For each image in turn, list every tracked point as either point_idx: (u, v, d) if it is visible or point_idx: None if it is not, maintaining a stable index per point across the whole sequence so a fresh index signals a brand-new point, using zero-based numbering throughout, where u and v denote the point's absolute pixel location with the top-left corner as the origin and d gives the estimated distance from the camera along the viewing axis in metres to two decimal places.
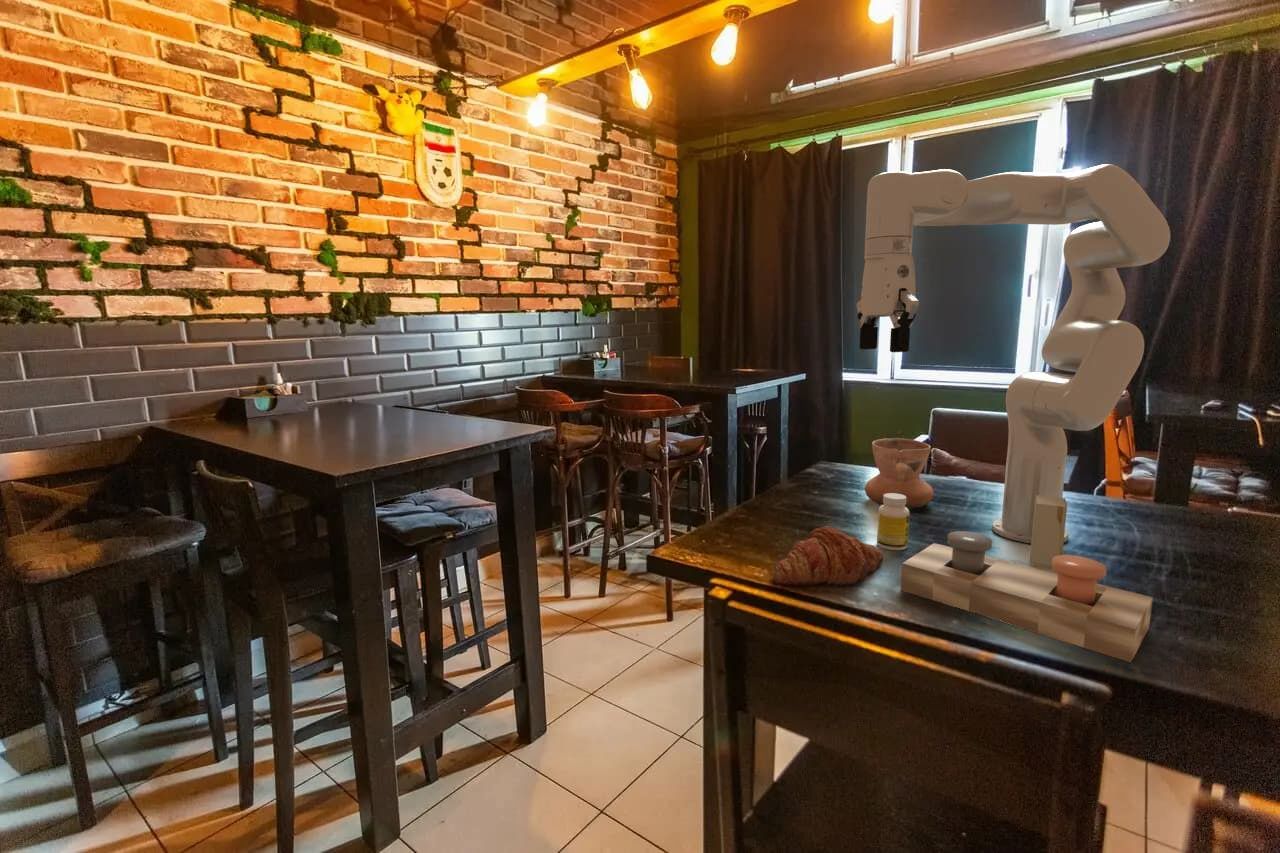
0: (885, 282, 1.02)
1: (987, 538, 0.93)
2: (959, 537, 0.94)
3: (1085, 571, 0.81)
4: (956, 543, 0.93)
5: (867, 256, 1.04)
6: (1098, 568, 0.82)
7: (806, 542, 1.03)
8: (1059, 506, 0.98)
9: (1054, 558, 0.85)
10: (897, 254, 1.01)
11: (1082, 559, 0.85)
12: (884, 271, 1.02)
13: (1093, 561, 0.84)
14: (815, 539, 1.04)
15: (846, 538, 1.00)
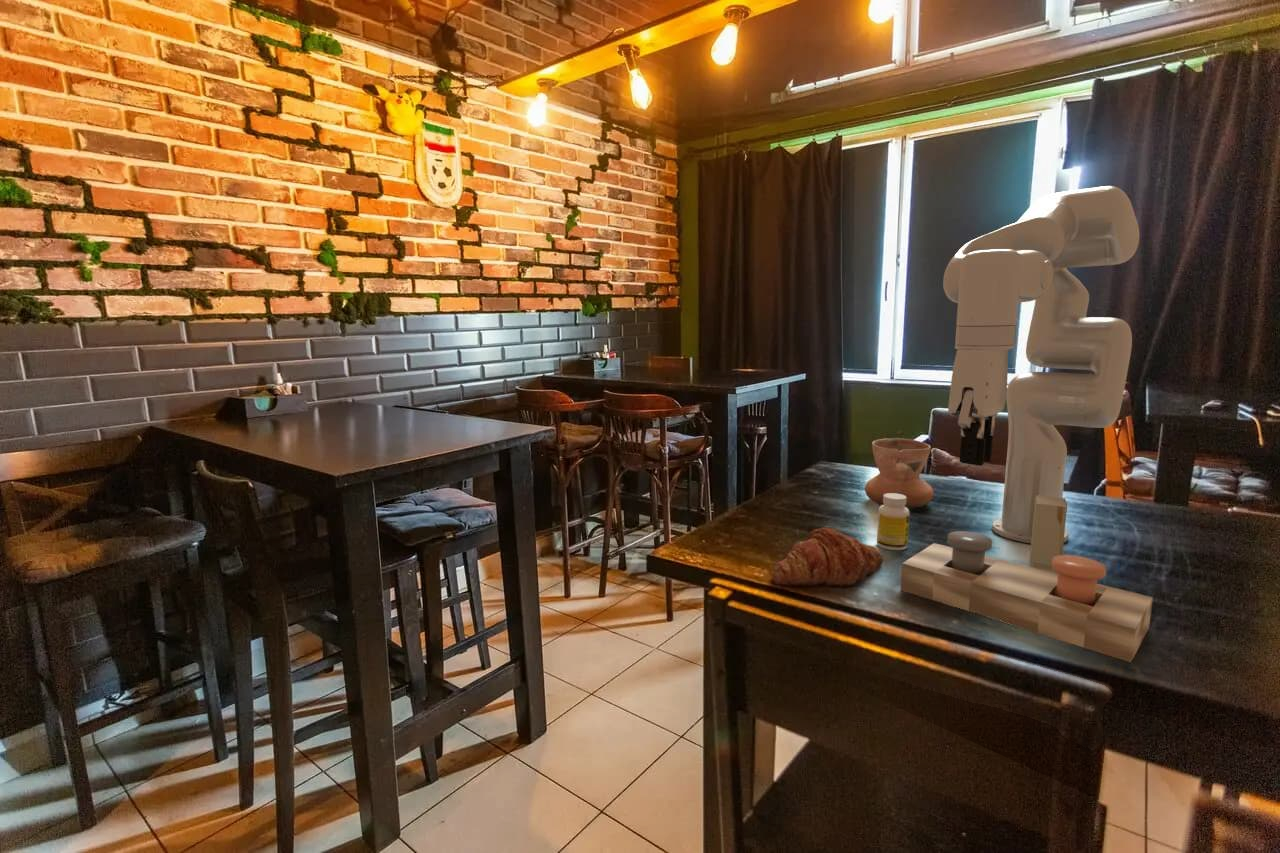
0: (1006, 375, 0.90)
1: (987, 538, 0.93)
2: (959, 537, 0.94)
3: (1085, 571, 0.81)
4: (956, 543, 0.93)
5: (1012, 346, 0.86)
6: (1098, 568, 0.82)
7: (805, 543, 1.03)
8: (1059, 506, 0.98)
9: (1054, 558, 0.85)
10: None
11: (1082, 559, 0.85)
12: (1007, 363, 0.89)
13: (1093, 561, 0.84)
14: (814, 540, 1.03)
15: (845, 539, 1.00)
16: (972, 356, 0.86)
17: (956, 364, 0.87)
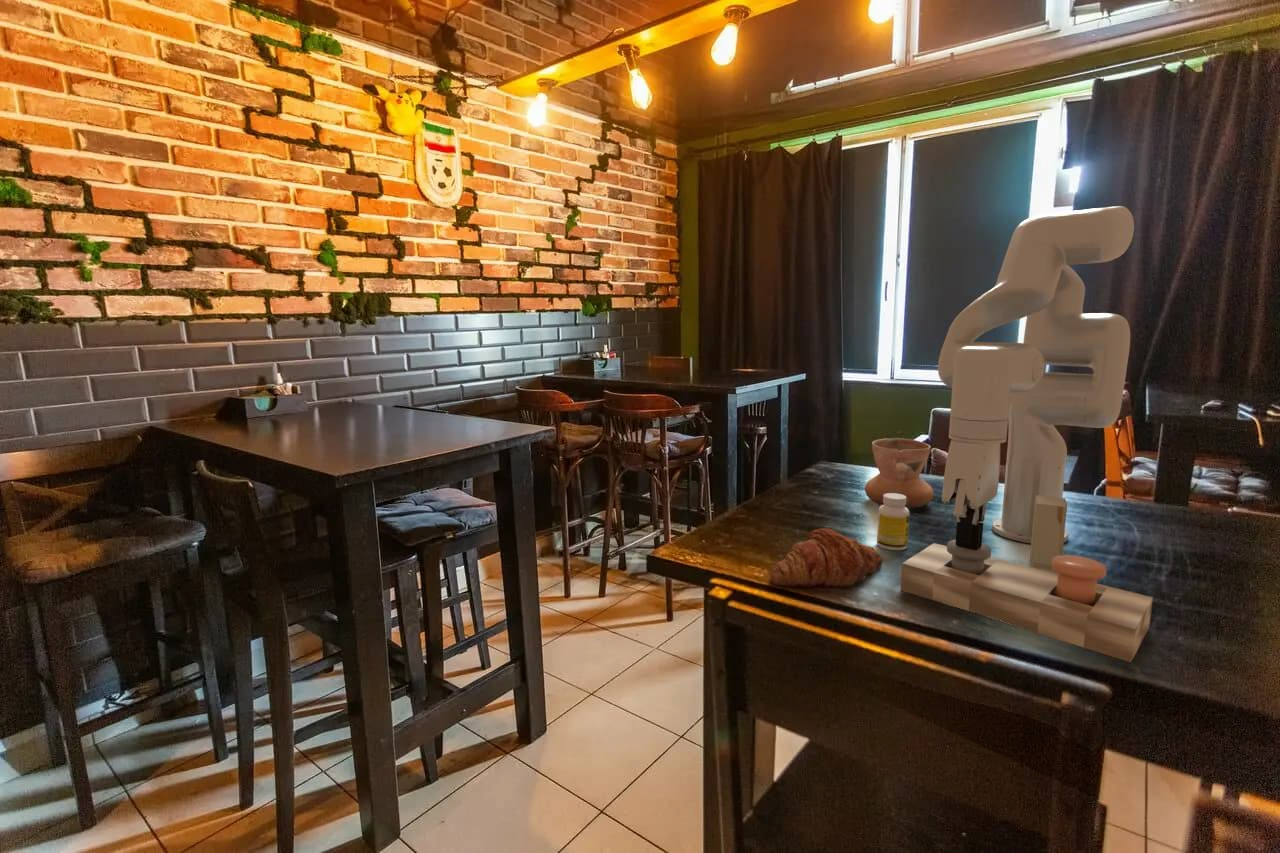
0: (998, 464, 0.92)
1: (986, 546, 0.94)
2: None
3: (1085, 571, 0.81)
4: (955, 551, 0.93)
5: (1004, 439, 0.88)
6: (1098, 568, 0.82)
7: (804, 543, 1.02)
8: (1059, 506, 0.98)
9: (1054, 558, 0.85)
10: None
11: (1082, 559, 0.85)
12: (999, 453, 0.92)
13: (1093, 561, 0.84)
14: (813, 540, 1.03)
15: (844, 540, 0.99)
16: (965, 449, 0.88)
17: (950, 455, 0.90)
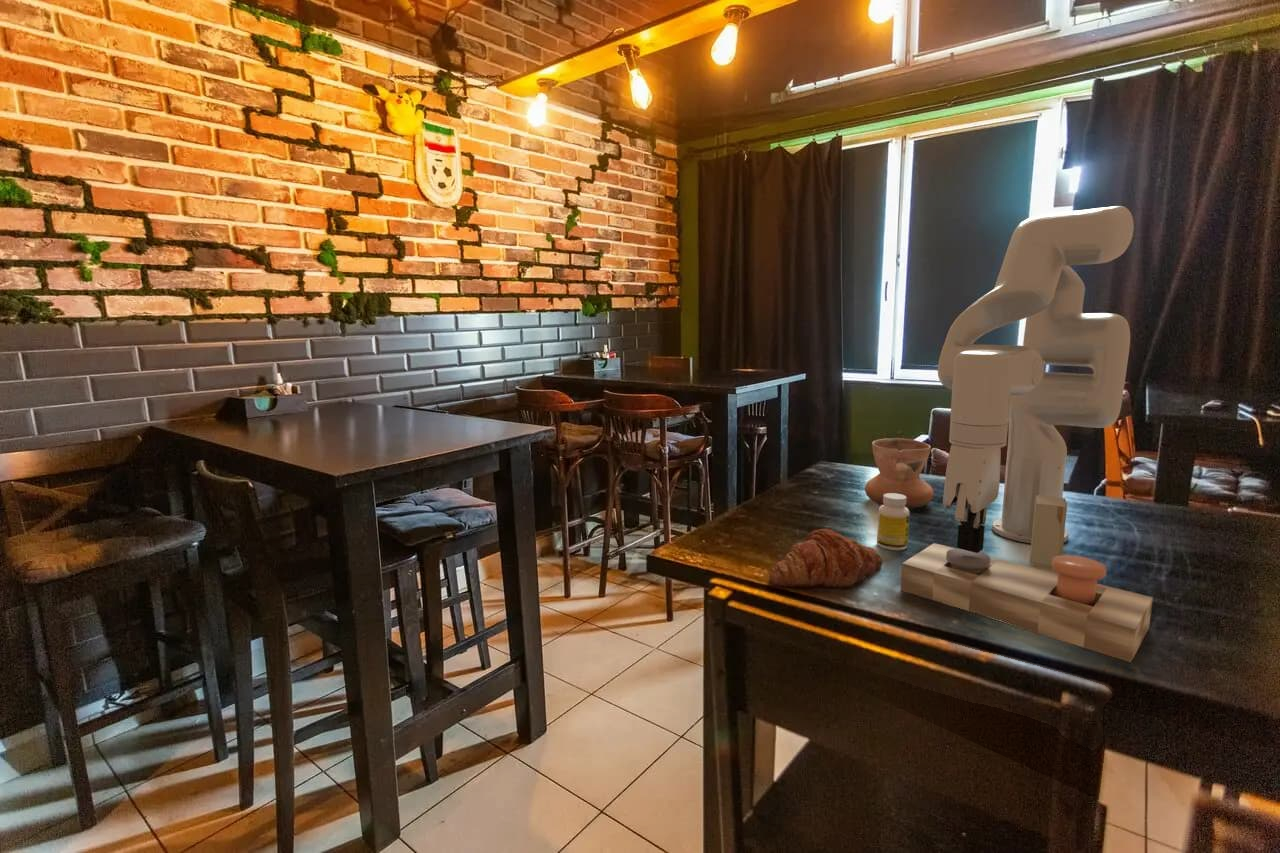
0: (999, 467, 0.93)
1: (986, 556, 0.94)
2: (958, 555, 0.94)
3: (1085, 571, 0.81)
4: (955, 561, 0.93)
5: (1004, 443, 0.88)
6: (1098, 568, 0.82)
7: (804, 544, 1.02)
8: (1059, 506, 0.98)
9: (1054, 558, 0.85)
10: None
11: (1082, 559, 0.85)
12: (999, 456, 0.92)
13: (1093, 561, 0.84)
14: (813, 541, 1.03)
15: (844, 540, 0.99)
16: (966, 454, 0.88)
17: (950, 460, 0.90)
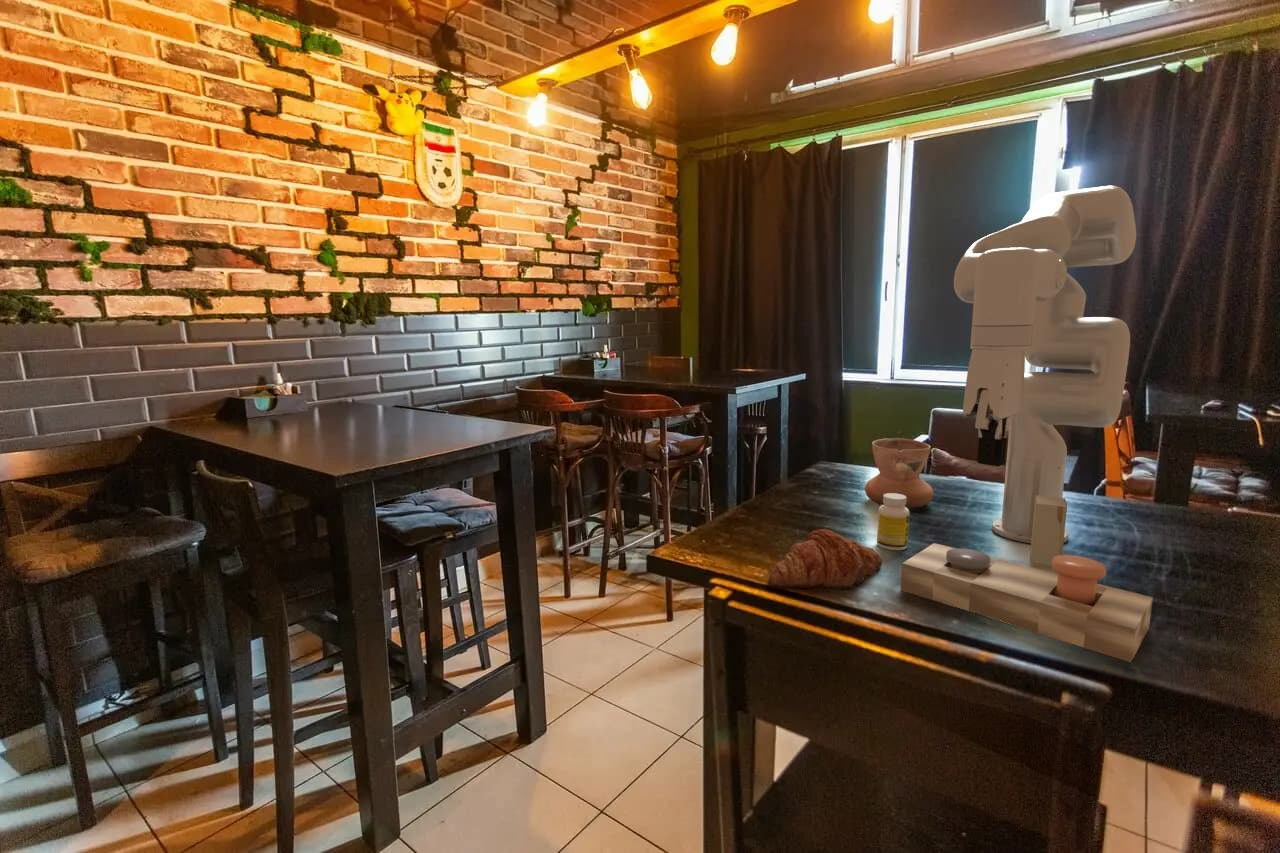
0: (1023, 376, 0.88)
1: (986, 556, 0.94)
2: (958, 555, 0.94)
3: (1085, 571, 0.81)
4: (955, 561, 0.93)
5: (1029, 346, 0.84)
6: (1098, 568, 0.82)
7: (803, 544, 1.02)
8: (1059, 506, 0.98)
9: (1054, 558, 0.85)
10: None
11: (1082, 559, 0.85)
12: (1024, 363, 0.88)
13: (1093, 561, 0.84)
14: (812, 541, 1.03)
15: (843, 541, 0.99)
16: (988, 357, 0.84)
17: (971, 364, 0.86)
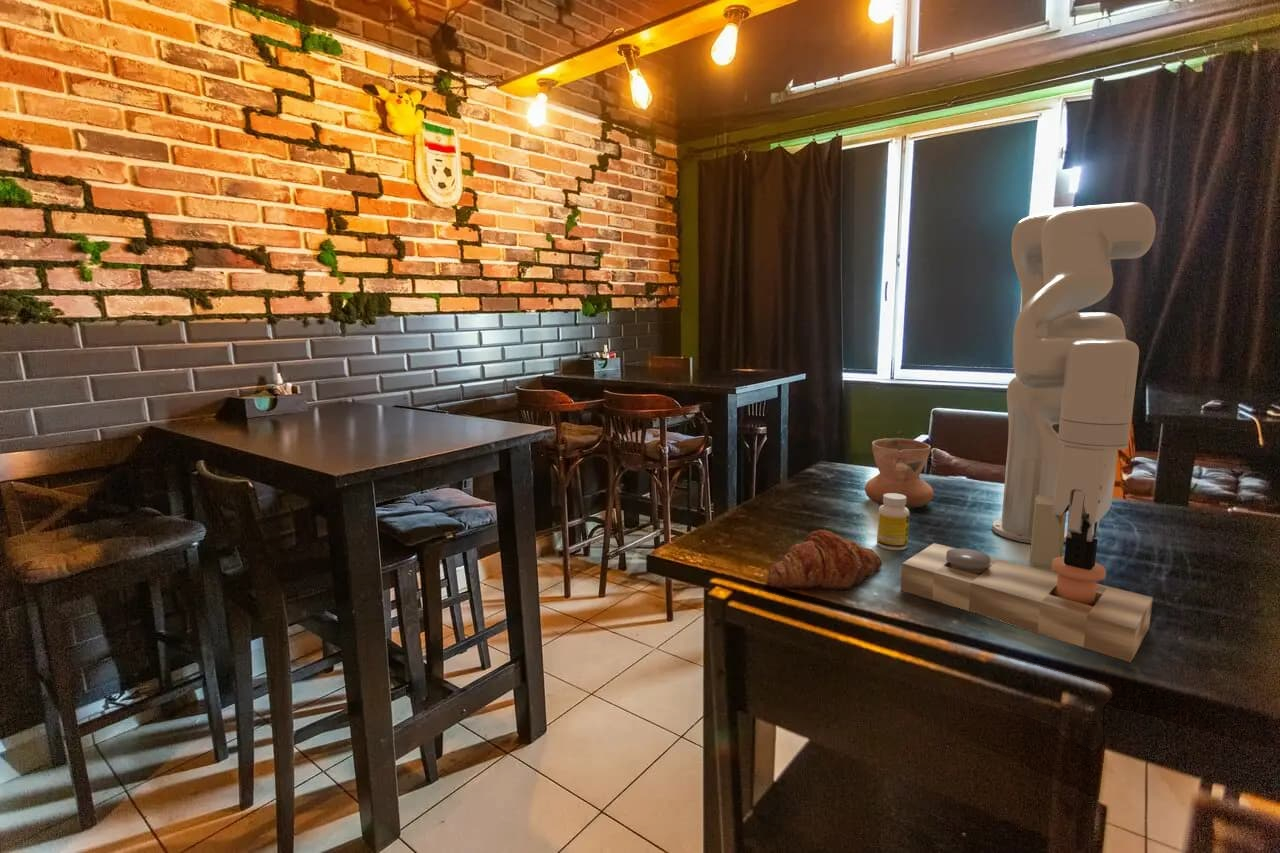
0: None
1: (986, 556, 0.94)
2: (958, 555, 0.94)
3: (1085, 573, 0.81)
4: (955, 561, 0.93)
5: (1127, 445, 0.78)
6: (1098, 570, 0.82)
7: (802, 545, 1.02)
8: None
9: (1054, 560, 0.85)
10: None
11: None
12: (1116, 460, 0.81)
13: None
14: (811, 542, 1.02)
15: (842, 541, 0.99)
16: (1084, 456, 0.78)
17: (1063, 463, 0.79)
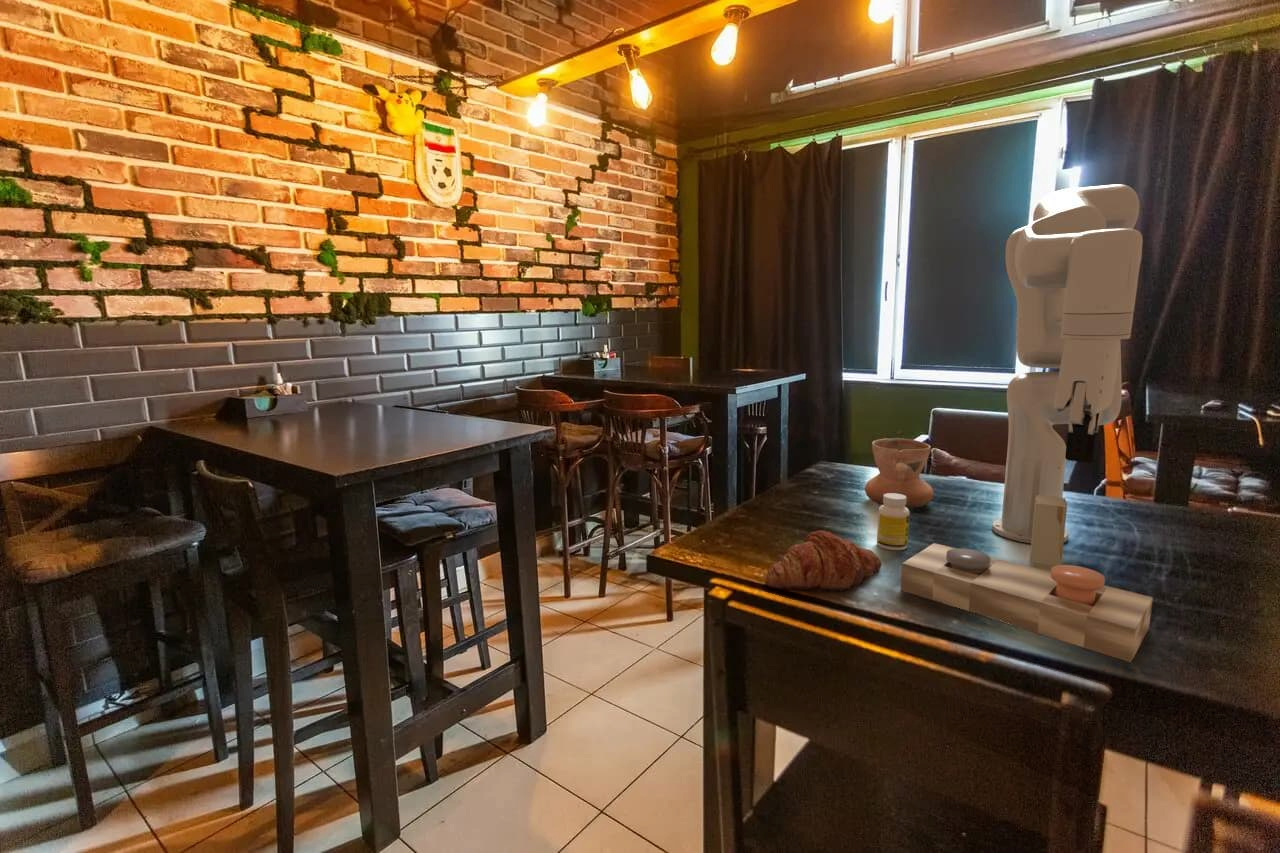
0: None
1: (986, 556, 0.94)
2: (958, 555, 0.94)
3: (1084, 581, 0.81)
4: (955, 561, 0.93)
5: (1129, 335, 0.78)
6: (1097, 579, 0.82)
7: (801, 546, 1.01)
8: (1059, 506, 0.98)
9: (1053, 568, 0.86)
10: None
11: (1081, 569, 0.85)
12: (1118, 353, 0.82)
13: (1092, 571, 0.84)
14: (810, 543, 1.02)
15: (841, 542, 0.98)
16: (1086, 347, 0.78)
17: (1065, 356, 0.80)
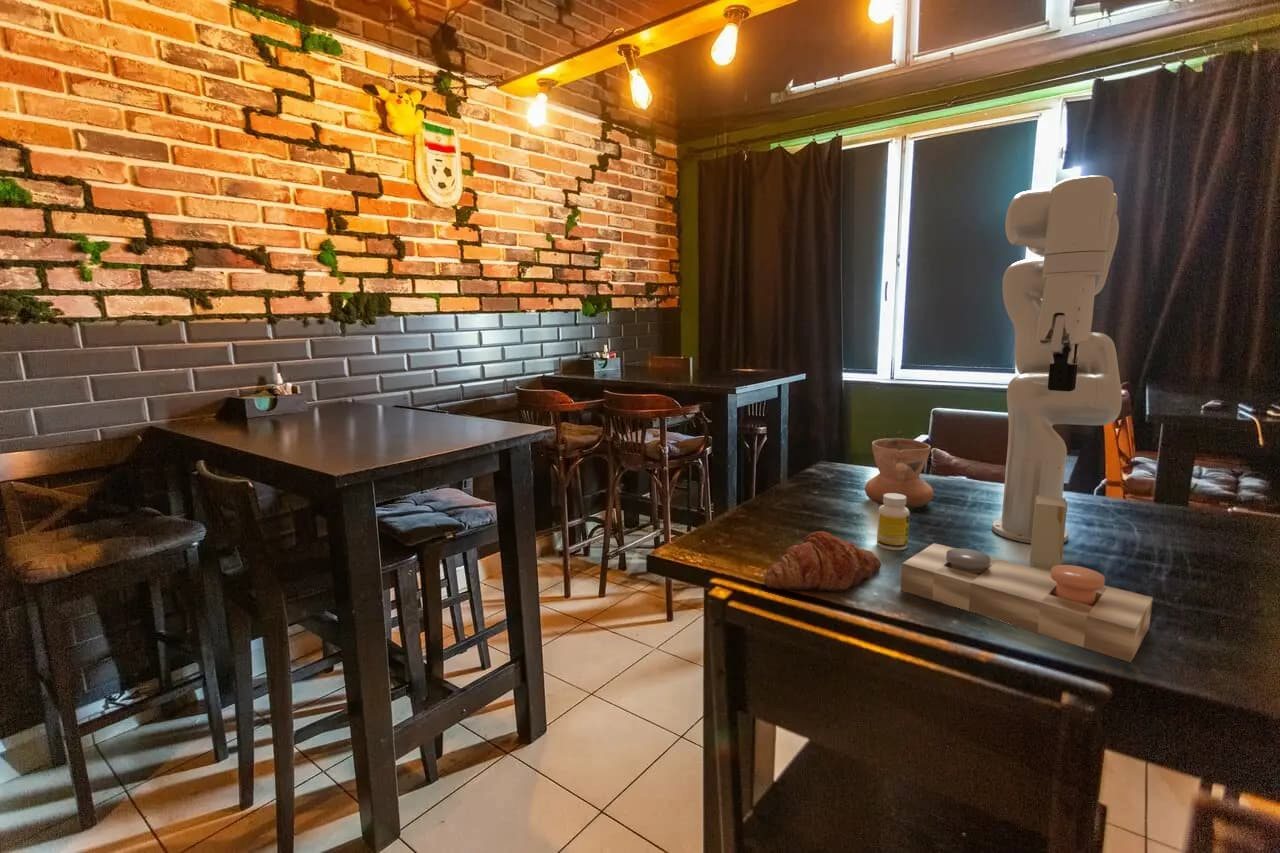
0: (1093, 304, 0.92)
1: (986, 556, 0.94)
2: (958, 555, 0.94)
3: (1084, 581, 0.81)
4: (955, 561, 0.93)
5: (1103, 272, 0.87)
6: (1097, 579, 0.82)
7: (799, 546, 1.01)
8: (1059, 506, 0.98)
9: (1053, 568, 0.86)
10: None
11: (1081, 569, 0.85)
12: (1094, 292, 0.91)
13: (1092, 571, 0.84)
14: (809, 543, 1.02)
15: (840, 543, 0.98)
16: (1064, 282, 0.87)
17: (1046, 291, 0.89)
